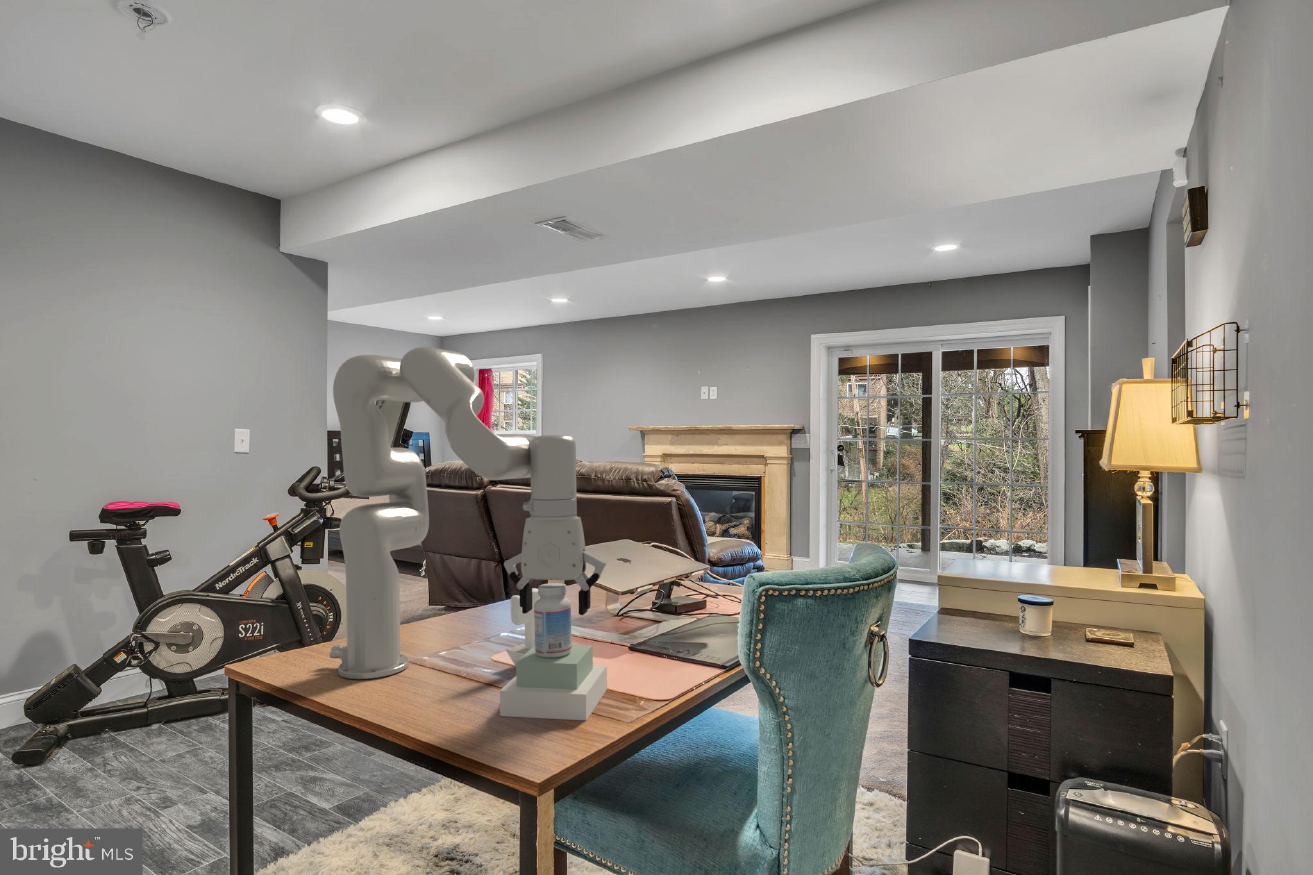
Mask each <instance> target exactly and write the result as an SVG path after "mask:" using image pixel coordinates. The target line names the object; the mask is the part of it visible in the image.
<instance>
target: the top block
mask: <svg viewBox="0 0 1313 875" xmlns="http://www.w3.org/2000/svg"><path fill="white" fill-rule="evenodd" d="M593 653H594V652H593V645H581V644H580V645H579V644H572V649H571V652H570V653H569V654H567V655H565V656H562V657H556V658H545V657H540V656H538V655H537V654H536V652H535V646H534V647H533V648H531V649H530V650H529V651H528V652H527V653H526V654H525V655H523V656H522V657H521V658H520V659H519V660H518V661H516V666H515V673H516V674H515V676H516V687H533V688H555V689H578V688H579V686H580V685H581V684H582V682H583V681H584V680H585V678H586V677H587V676H588V675H589V673H590V672H591V671H592V669H593V665H594V664H593V663H594V661H593V657H594V656H593Z"/></svg>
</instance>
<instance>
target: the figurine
mask: <svg viewBox="0 0 1313 875" xmlns="http://www.w3.org/2000/svg"><path fill="white" fill-rule="evenodd" d="M539 599H540V596H539V594H538V588H536V587H534V588H533V587H532V610H530V611H529V612H528V613H526V614H523V613H522V607H520V595H515V594H514V595H512V596H511V597H510V620H511V622H512V623H513V624H514V625H515V626H520V625H523V624H524V643H521V644H518V645H514V646H511V647H507V648H505V651H506V653H507V654H508V656H509V657H510V660H511V661H512V663H513V664H514V666H515V667H516V661H518V660H519V659H520V658H521V657H522V656H523V655H525V654H526V653H527V652H528V651H529V650H530V649H531V648H533V647H534V646H535V622H534V605H535V603H536V601H537V600H539Z"/></svg>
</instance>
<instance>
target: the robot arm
mask: <svg viewBox="0 0 1313 875" xmlns="http://www.w3.org/2000/svg"><path fill="white" fill-rule="evenodd" d="M475 376H476V373H475V369H474V365H473V363H472V361H471V360H470V359H469V357H467V356H466V355H464V354H463V353H461V352H459V351H456V350H455V351H454V350H450V349H443V348H437V347H432V346H431V347H430V346H419V347H414V348H413V349H411V350H409V351H407V352H406V353H405V354H404V355H403V357H402V358H399V357H398V358H397V357H391V356H385V355H384V356H383V355H375V354H362V355H361V354H360V355H356V356H353V357H350V358H348V359H346V360H345V361H344V362H343V363H342V364H341V365H340V366H339V367H338V369H337V371H336V374H335V376H334V380H333V386H332V394H333V396H332V397H333V402H334V407H335V410H336V414H337V417H338V423H339V429H340V439H341V440H340V441H341V453H342V455H341V456H342V464H343V465H342V466H343V475H344V476H343V477H344V483H345V487H346V489H347V491H348V492H349V493H350V494H351V495H353V496H356V497H361V498H373V497H375V498H376V497H386V496H388V500H389V502H379V503H369V504H363V505H359V506H357V507H353V508H352V509H350V510H349V511H348V512H346V513H345V514H344V516H343V517H342V518H341V521H340V523H339V537H340V542H341V543H340V544H341V547H342V548H341V549H342V552H343V557H344V558H343V560H344V566H345V590H346V592H345V593H346V596H345V597H346V602H345V603H346V604H345V605H346V645H333V646H332V648H331V650H330V653H329V658H330V659H340V660H341V663H340V664H339V665H338V668H337V672H338V675H339V676H340V677H342V678H345V679H351V680H369V679H370V680H371V679H377V678H378V679H379V678H383V677H387V676H392V675H394V674H398V673H400V672H402V671H404V670H405V669H407V668H408V667H409V664H410V662H409V661H410V660H409V659H410V658H409V657H408V656H406V655H404V654H401V610H400V609H401V607H400V606H401V604H400V602H401V600H400V597H401V596H400V593H401V592H400V588H401V587H400V572H399V568H398V567H397V564H396V562H395V560H394V559H393V557H392V555H391V552H392V551H396V550H402V549H406V548H407V549H408V548H412V547H415V546H417V545H420V544H421V543H422V542H423V541H424V539H425V538H426V536H427V535H428V532H429V526H430V514H429V512H430V510H429V501H428V488H427V476H426V471H425V467H424V463H423V461H422V460H421V458H420V456H419V455H418V454H417V453H416V452H415V451H413V450H412V449H409V448H406V447H405V448H404V447H391V443H390V439H389V428H388V427H389V426H388V424H387V420H386V418H385V416H384V414H383V413H382V411H381V410H380V408H379V407H378V406H377V404H376V402H377V401H383V402H385V401H386V402H397V403H398V402H401V403H420V402H421V403H422V402H424V403H425V404H426V405H427V406H428V407H429V408H431V410H432V411H433V412H434V413H435V414H436V415H437V416H438V417H440V419H441V420H442V421H444V428H445V429H444V430H445V434H446V439H447V442H448V444H449V446H450V448H451V450H452V452H454V454H455V455H456V456H457V457H458V458H459V459H460V460H461V461H462V462H463V463H464V464H465V465H466V466H467V467H468V469H471V471H472V472H474V473H475V474H476V475H478V476H480V477H481V478H483V479H486V480H489V481H501V480H513V479H514V480H517V479H529V478H530V498H529V501H527V502H525V501H524V502H523V504H522V510H523V511H527V512H529V515H530V517H527V518H525V521H524V522H525V523H524V528H523V536H522V544H521V545H522V546H521V552H520V553H519V554H517V555H515V556H513V557H511V558H509V559H508V560H505V561H504V563H503V566H504V568H505V571H506V572H507V574H508V577H509V579H510V580H511V581H512V582H513V583H514V584H515V585H516V588H517V589H518V590H519V596H520V607H522V613H523V614H526V613H528V612H529V611H530V610H532V588H533V587H532V585H531V584H530V583H531V582H532V581H533V580H535V581H536V580H537V581H538V580H540V581H541V580H543V581H546V580H547V581H571V580H573V581H575V582H576V583H577V585H578V586H579V587H580V589H579V591H578V593H577V594H578V615H580V616H585V614H586V613H588V610H589V609H590V608H591V604H592V603H591V588H593V586H594V585H595V584H596V583H597V581H599V580H600V579H601V577H602V574H603V572H604V570H605V569H606V567H607V562H605V560H602V559H600V558H599V557H596V556H594V555H593V554H591V553H590V552H587V551H586V543H585V542H586V541H585V535H584V528H583V523H582V519H581V517H580V516H577V514H578V512H577V510H578V509H577V507H578V506H577V499H578V498H577V446H576V440H575V439H574V438H573V437H572V436H570V435H566V434H565V435H564V434H562V435H561V434H560V435H559V434H557V435H555V434H554V435H549V434H548V435H547V434H545V435H537V436H536V435H530V434H505V433H504V434H503V433H501V434H496V433H495V432H494V431H492V430H491V429H490V428H489V427H488V426H487V425H485V423H483V422H482V420H480V418H479V417H478V415H479V414H480V413H481V411H482V409H483V407H484V403H485V394H484V392H483V391H482V389H481V388H480V387H479V386H477V385H476V384H475V379H476V378H475ZM519 563H520V571H521V573H520V572H519V571H518V570H517V569H518V568H517V567H516V565H517V564H519ZM587 564H589V565H591V566H593V567H594V571H593V573H592V574H591V575H590V577H589V576H588V574H586V570H587Z"/></svg>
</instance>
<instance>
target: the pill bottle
mask: <svg viewBox="0 0 1313 875" xmlns="http://www.w3.org/2000/svg"><path fill="white" fill-rule="evenodd" d="M537 589H538V594H539V600H537V601H536V603H535V605H534V622H535V652H536V654H537V655H538V656H540V657H545V658H556V657H562V656H565V655H567V654H569V653H570V652H571V649H572V645H573V644H572V643H573V642H572V606H571V605H572V604H571V601H570V599H568V597H565V596H566V595H567V585H566V584H565V583H561V582H551V583H550V582H549V583H543V584H541V585H538V587H537Z"/></svg>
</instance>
